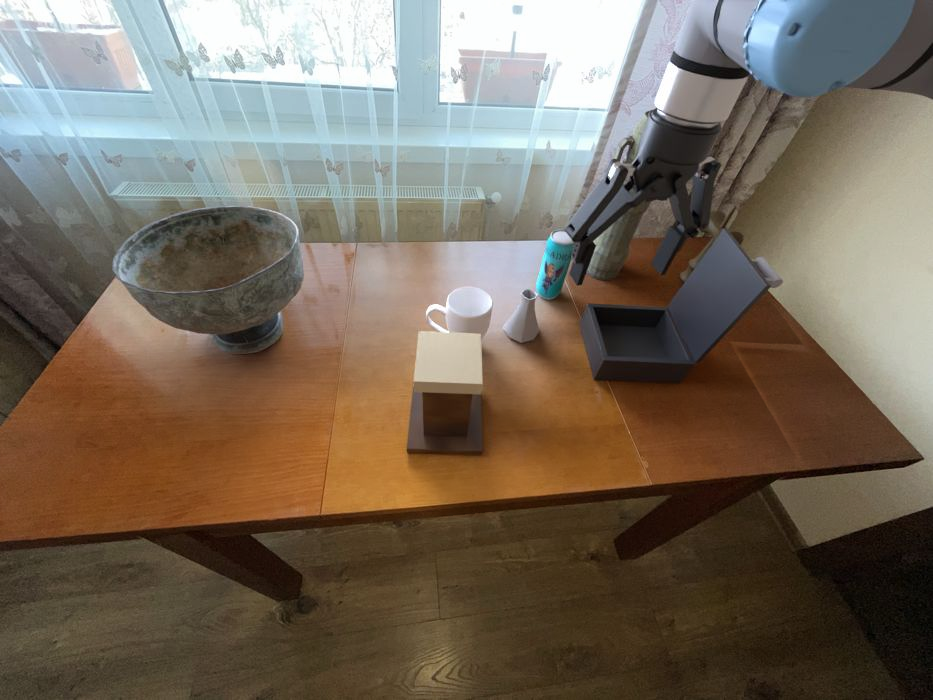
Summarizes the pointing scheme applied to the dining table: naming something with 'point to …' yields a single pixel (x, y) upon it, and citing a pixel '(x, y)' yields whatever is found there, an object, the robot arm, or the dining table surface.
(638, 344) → the open box
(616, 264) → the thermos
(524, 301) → the flask
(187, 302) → the decorative bowl
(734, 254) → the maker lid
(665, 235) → the robot arm
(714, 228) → the kendama
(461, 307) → the mug
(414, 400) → the stand
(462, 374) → the beige flat square block
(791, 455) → the dining table surface
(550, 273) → the beverage can
